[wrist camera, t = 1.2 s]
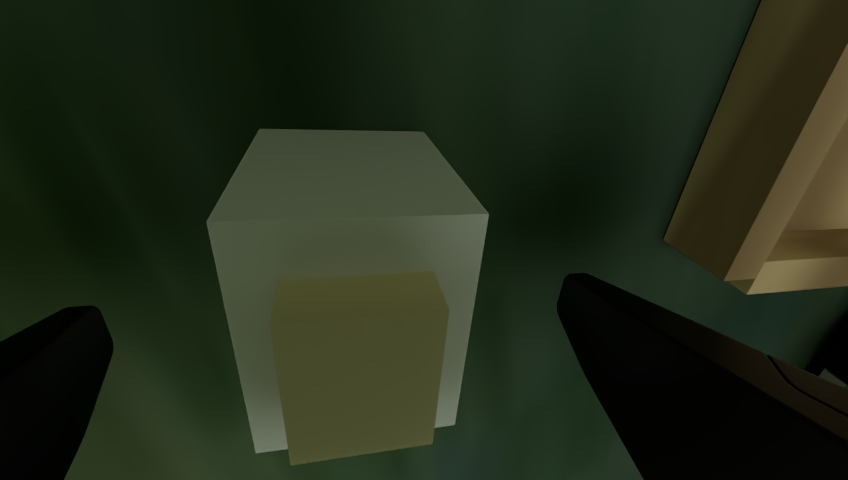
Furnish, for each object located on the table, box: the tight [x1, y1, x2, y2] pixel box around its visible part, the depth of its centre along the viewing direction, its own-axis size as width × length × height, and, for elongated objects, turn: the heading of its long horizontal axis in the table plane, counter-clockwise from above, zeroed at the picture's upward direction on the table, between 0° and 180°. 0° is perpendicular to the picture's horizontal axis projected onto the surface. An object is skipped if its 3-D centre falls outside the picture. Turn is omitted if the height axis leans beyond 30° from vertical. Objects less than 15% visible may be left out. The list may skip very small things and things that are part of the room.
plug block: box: [206, 129, 489, 465], centre depth 9 cm, size 4×5×6 cm
